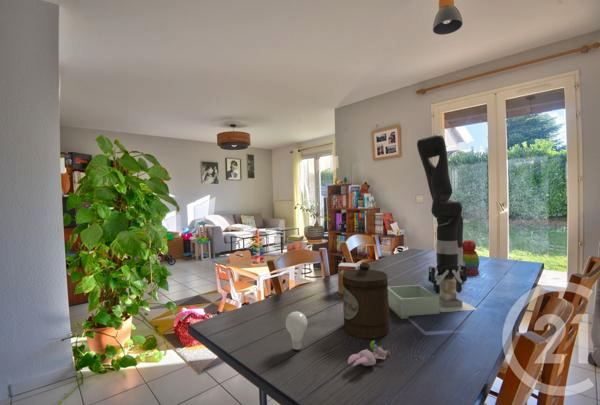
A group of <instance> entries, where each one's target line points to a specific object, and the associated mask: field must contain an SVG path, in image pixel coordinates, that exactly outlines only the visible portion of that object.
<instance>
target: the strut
mask: <svg viewBox="0 0 600 405" xmlns="http://www.w3.org/2000/svg"><path fill="white" fill-rule="evenodd" d="M439 285H440V294H439V296H440V298H441V299H442V300H444V301H456V298H457V292H456V279H454V278H444V279H443V280H441V282H440V283H439Z"/></svg>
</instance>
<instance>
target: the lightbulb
mask: <svg viewBox="0 0 600 405" xmlns="http://www.w3.org/2000/svg"><path fill="white" fill-rule="evenodd" d="M285 327H286V330H287V331H288V332H289V334H290V337H291V340H292V349H293V350H294V351H295V350H296V351H299V350H301V349H302V348H303V346H302V345H303V342H302V340H303V336H304V333H305V331H306V330H307V328H308V319H307V317H306V315H305V314H304V313H303V312H301V311H292V312H290V313H289V314H288V315H287V316H286V319H285Z"/></svg>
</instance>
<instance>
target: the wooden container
mask: <svg viewBox="0 0 600 405" xmlns="http://www.w3.org/2000/svg"><path fill="white" fill-rule="evenodd" d="M370 267H371V265H370V264H369V263H368V262H365V261H363V262H361V263H360V264H359V268H358V269H356V270H349V271H346V272H344V273H343V294H342V295H343V297H342V298H343V300H342V302H343V306H342V307H343V328H344V330H345V331H346V332H347V333H349V334H350V335H352V336H354V337H357V338H362V339H378V338H382V337H384V336H387V335H388V334H389V332H390V307H389V301H388V287H389V286H388V284H389V283H388V274H387V273H385V272H384V271H381V270H376V269H370Z"/></svg>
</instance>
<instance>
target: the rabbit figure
mask: <svg viewBox="0 0 600 405" xmlns="http://www.w3.org/2000/svg"><path fill="white" fill-rule="evenodd" d="M375 342H376V340H372V341H370V342H369V346H370V348H371V349H372V351H373V352H372V351H371V350H369V349H368V348H366V349H364V350H363V349H362V350H361V351H359V352H357V353H353V354H351V355H350V356H349V357H348V360H347V365H350V364H351V363H353V364H352V365H351V366H352V367H355V366H358V365H360V364H361V365H363V366H365V367H368V366H375V365H376V363H377V360H386V358H387V356H390V355H391V352H390V350H389V349H386V350H384V349H383V345H379V346H378V345H377V344H375Z"/></svg>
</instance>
